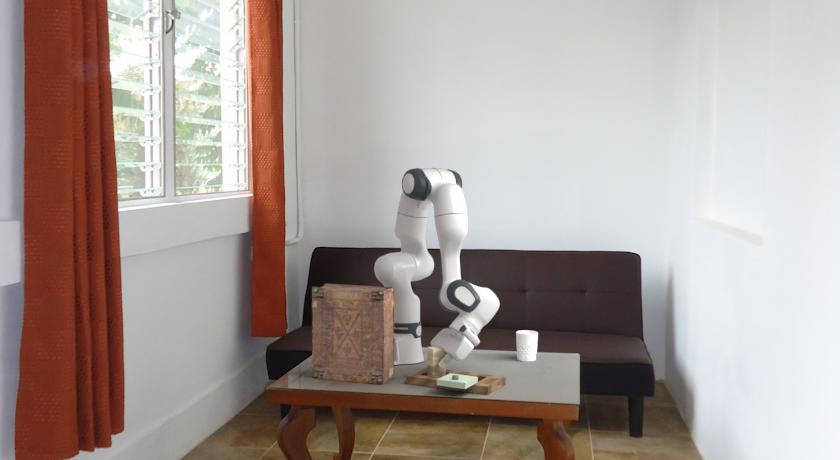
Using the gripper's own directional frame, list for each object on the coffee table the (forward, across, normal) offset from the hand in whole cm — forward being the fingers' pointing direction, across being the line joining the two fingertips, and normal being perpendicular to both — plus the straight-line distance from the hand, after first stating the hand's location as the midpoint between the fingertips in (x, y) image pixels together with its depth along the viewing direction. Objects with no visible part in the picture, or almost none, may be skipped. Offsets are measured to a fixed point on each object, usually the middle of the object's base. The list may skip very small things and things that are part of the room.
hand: (434, 363), depth 274 cm
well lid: (+1, +15, +3) cm, 16 cm away
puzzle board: (0, +5, +8) cm, 10 cm away
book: (+21, -14, -12) cm, 28 cm away
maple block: (+4, 0, +5) cm, 6 cm away
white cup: (-26, -18, +35) cm, 47 cm away
